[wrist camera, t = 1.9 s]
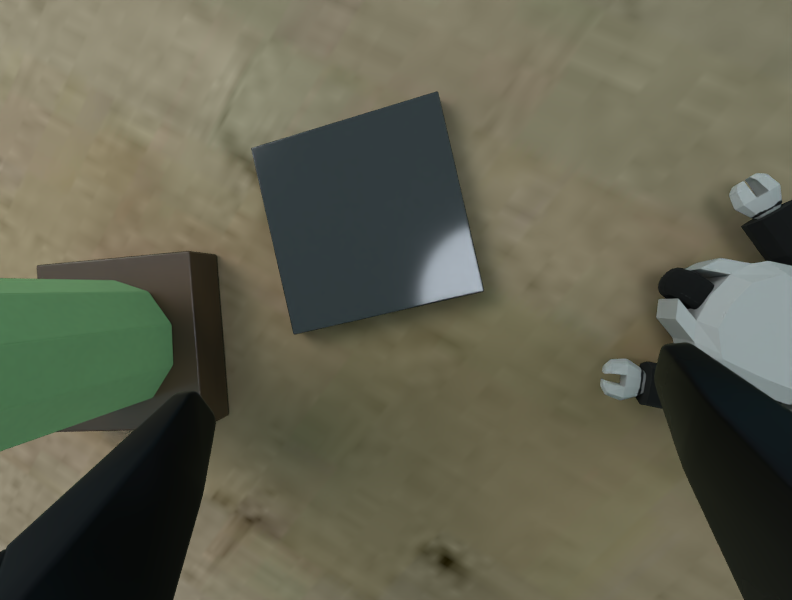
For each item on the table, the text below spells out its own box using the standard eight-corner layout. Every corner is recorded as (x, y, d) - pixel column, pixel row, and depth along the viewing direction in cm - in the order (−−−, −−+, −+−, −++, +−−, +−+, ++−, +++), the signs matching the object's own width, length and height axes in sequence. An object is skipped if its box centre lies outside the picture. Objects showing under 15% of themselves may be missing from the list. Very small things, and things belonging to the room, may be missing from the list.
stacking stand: (229, 415, 25) (138, 463, 18) (88, 419, 27) (-45, 465, 20) (216, 254, 25) (120, 241, 18) (76, 267, 26) (-64, 260, 19)
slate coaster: (483, 291, 23) (484, 291, 22) (300, 332, 24) (293, 334, 23) (439, 99, 23) (437, 90, 22) (259, 153, 24) (250, 147, 23)
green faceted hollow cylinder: (124, 255, 23) (-92, 236, 14) (198, 360, 23) (23, 408, 14) (41, 330, 24) (-212, 355, 15) (110, 432, 23) (-108, 520, 15)
